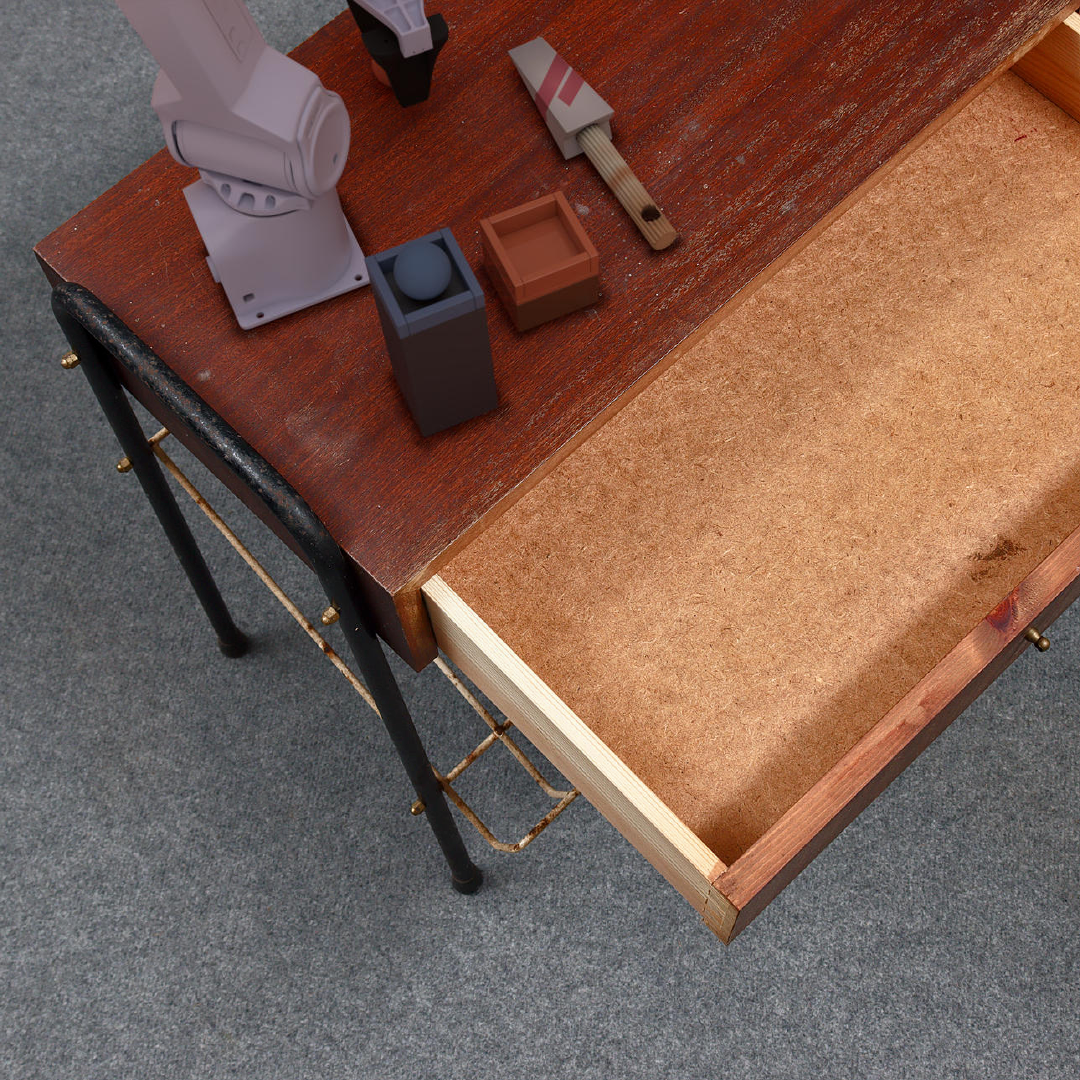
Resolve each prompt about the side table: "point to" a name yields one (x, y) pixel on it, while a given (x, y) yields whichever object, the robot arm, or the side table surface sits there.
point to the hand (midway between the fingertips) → (394, 65)
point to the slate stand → (437, 340)
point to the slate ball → (422, 270)
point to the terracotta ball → (380, 73)
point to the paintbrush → (586, 131)
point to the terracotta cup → (540, 260)
